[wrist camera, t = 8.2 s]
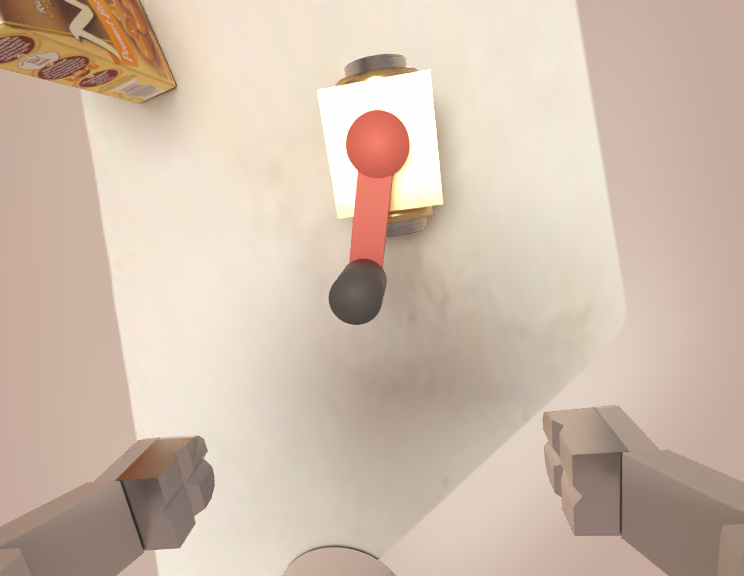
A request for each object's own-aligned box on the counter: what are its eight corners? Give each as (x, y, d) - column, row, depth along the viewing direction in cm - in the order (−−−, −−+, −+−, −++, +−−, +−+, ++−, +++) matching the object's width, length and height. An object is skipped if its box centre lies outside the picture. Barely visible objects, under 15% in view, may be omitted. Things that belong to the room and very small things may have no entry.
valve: (438, 220, 36) (447, 237, 26) (359, 230, 36) (339, 251, 27) (422, 70, 33) (427, 24, 23) (337, 85, 33) (306, 48, 24)
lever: (413, 117, 24) (413, 100, 19) (391, 299, 27) (386, 329, 22) (352, 111, 24) (335, 93, 19) (337, 292, 27) (319, 320, 22)
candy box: (179, 86, 35) (8, 21, 20) (138, 106, 35) (-56, 57, 21) (130, -25, 33) (-100, -188, 18) (87, -2, 34) (-166, -140, 19)
